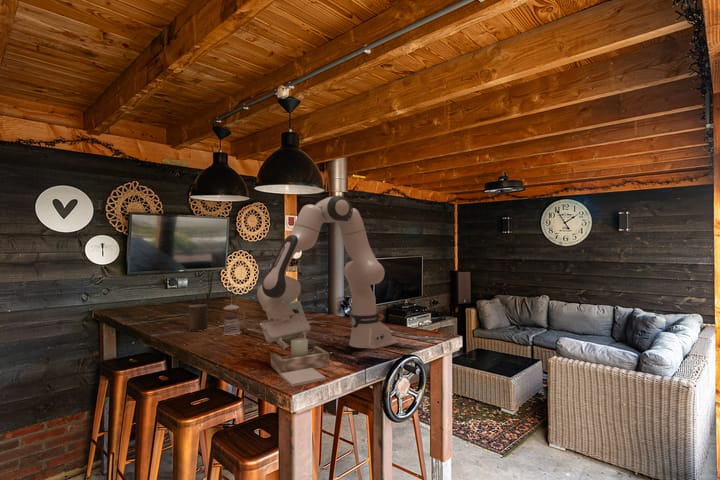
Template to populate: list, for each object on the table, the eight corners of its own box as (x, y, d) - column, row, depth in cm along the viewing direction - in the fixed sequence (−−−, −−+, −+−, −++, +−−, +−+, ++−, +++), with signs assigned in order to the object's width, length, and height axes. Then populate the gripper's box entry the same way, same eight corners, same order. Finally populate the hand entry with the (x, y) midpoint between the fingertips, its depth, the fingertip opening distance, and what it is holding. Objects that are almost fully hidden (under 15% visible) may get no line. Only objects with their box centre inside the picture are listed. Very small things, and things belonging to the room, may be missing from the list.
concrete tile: (312, 370, 143) (312, 367, 143) (325, 380, 132) (325, 377, 132) (280, 376, 137) (280, 373, 137) (292, 386, 126) (292, 383, 127)
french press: (222, 332, 208) (222, 285, 208) (245, 330, 211) (244, 285, 211) (221, 336, 198) (220, 287, 198) (244, 334, 201) (244, 286, 202)
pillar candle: (206, 331, 211) (205, 303, 211) (186, 332, 208) (186, 304, 209) (208, 327, 220) (208, 301, 220) (190, 328, 218) (190, 302, 218)
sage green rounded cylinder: (304, 362, 153) (304, 337, 153) (310, 366, 147) (310, 340, 147) (288, 365, 149) (288, 339, 150) (294, 369, 144) (294, 342, 144)
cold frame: (316, 358, 158) (316, 346, 158) (329, 366, 148) (329, 353, 148) (270, 366, 148) (270, 353, 148) (280, 375, 138) (280, 361, 138)
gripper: (261, 316, 147) (277, 346, 140) (303, 309, 162) (319, 335, 156) (255, 326, 150) (270, 356, 143) (296, 318, 165) (311, 345, 159)
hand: (296, 345), depth 150 cm, fingers open, 8 cm apart
